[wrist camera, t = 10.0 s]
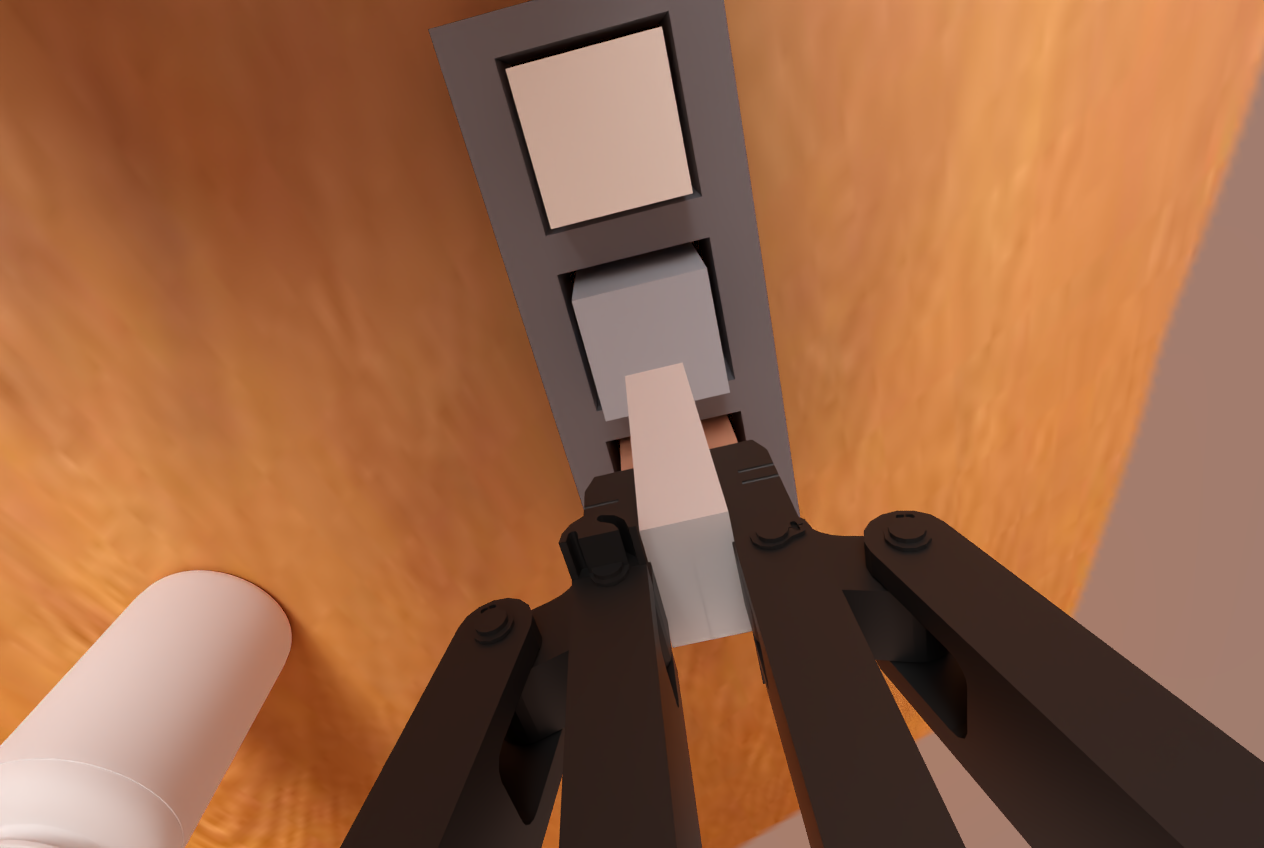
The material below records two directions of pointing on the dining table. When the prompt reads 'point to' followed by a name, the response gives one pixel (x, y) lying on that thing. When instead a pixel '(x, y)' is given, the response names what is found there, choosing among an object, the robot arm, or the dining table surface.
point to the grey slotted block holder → (543, 257)
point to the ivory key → (602, 127)
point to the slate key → (649, 323)
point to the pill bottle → (145, 719)
